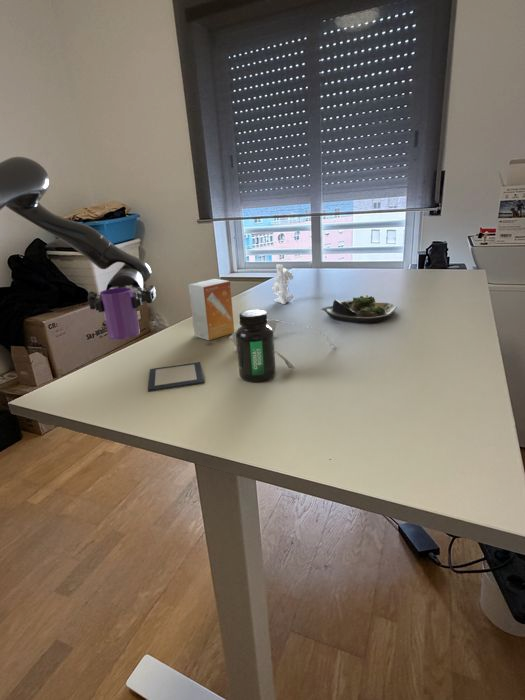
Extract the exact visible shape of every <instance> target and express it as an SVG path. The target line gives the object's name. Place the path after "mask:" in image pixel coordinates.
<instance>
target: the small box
mask: <svg viewBox="0 0 525 700" xmlns="http://www.w3.org/2000/svg"><path fill="white" fill-rule="evenodd" d="M187 286H188V294H189V301H190V310H191V316H192V317H191V318H192V327H193V333H194V337H197V338H200V339H203V340H207V341H212V340H215V339H218V338H221V337H223V336H227V335H230V334H233V333H234V332H235V324H234V311H233V301H232V300H233V299H232V288H231V281H230V280H226V279H220V278H211V279H208V280H201V281H198V282H193V283H190V284H189V283H188V284H187Z"/></svg>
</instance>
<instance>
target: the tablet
mask: <svg viewBox="0 0 525 700" xmlns="http://www.w3.org/2000/svg"><path fill="white" fill-rule="evenodd" d="M147 384H148V385H147V392H156V391H162V390H168V389H175V388H182V387H189V386H195V385H202V384H205V379H204V374H203V369H202V365H201V362H200V361H196V362H188V363H181V364H174V365H167V366H160V367H154V368H153V367H152V368H149V375H148V383H147Z"/></svg>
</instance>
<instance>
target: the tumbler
mask: <svg viewBox="0 0 525 700" xmlns="http://www.w3.org/2000/svg"><path fill="white" fill-rule="evenodd" d="M99 295H100V297H101V301H102V306H103V316H104V320H105V325H106V330H107V334H108V338H109V339H111V340H114V341H115V340H116V341H117V340H120V341H121V340H127V339H132V338H135V337H137V336H139V335H140V334H141V330H140V323H139V318H138V312H137V308H136V309H135V308H134V302H133V296H134V294H133V289H132V288H114V289H108V290H106V289H105V290H101V291H100V292H99Z"/></svg>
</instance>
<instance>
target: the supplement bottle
mask: <svg viewBox="0 0 525 700" xmlns="http://www.w3.org/2000/svg"><path fill="white" fill-rule="evenodd" d="M267 322H268V315H267V311H265V310H260V309H251V310H245V311H242V312H240V313H239V325H240V327H239V328H238V329H237V330H236V331H237V332H236V331H235V332H236V345H237V347H236V355H237V365H238V374H239V377H240V378H241V379H242V380H243V381H245V382H249V383H263V382H267V381H269V380H271V379H273V378H274V377H275V375H276V372H277V371H276V369H277V368H276V353H275V351H276V350H275V335H274V334H275V333H274V334H273V330H272V328H271V327H269V326H268V325H266V324H267Z"/></svg>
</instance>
